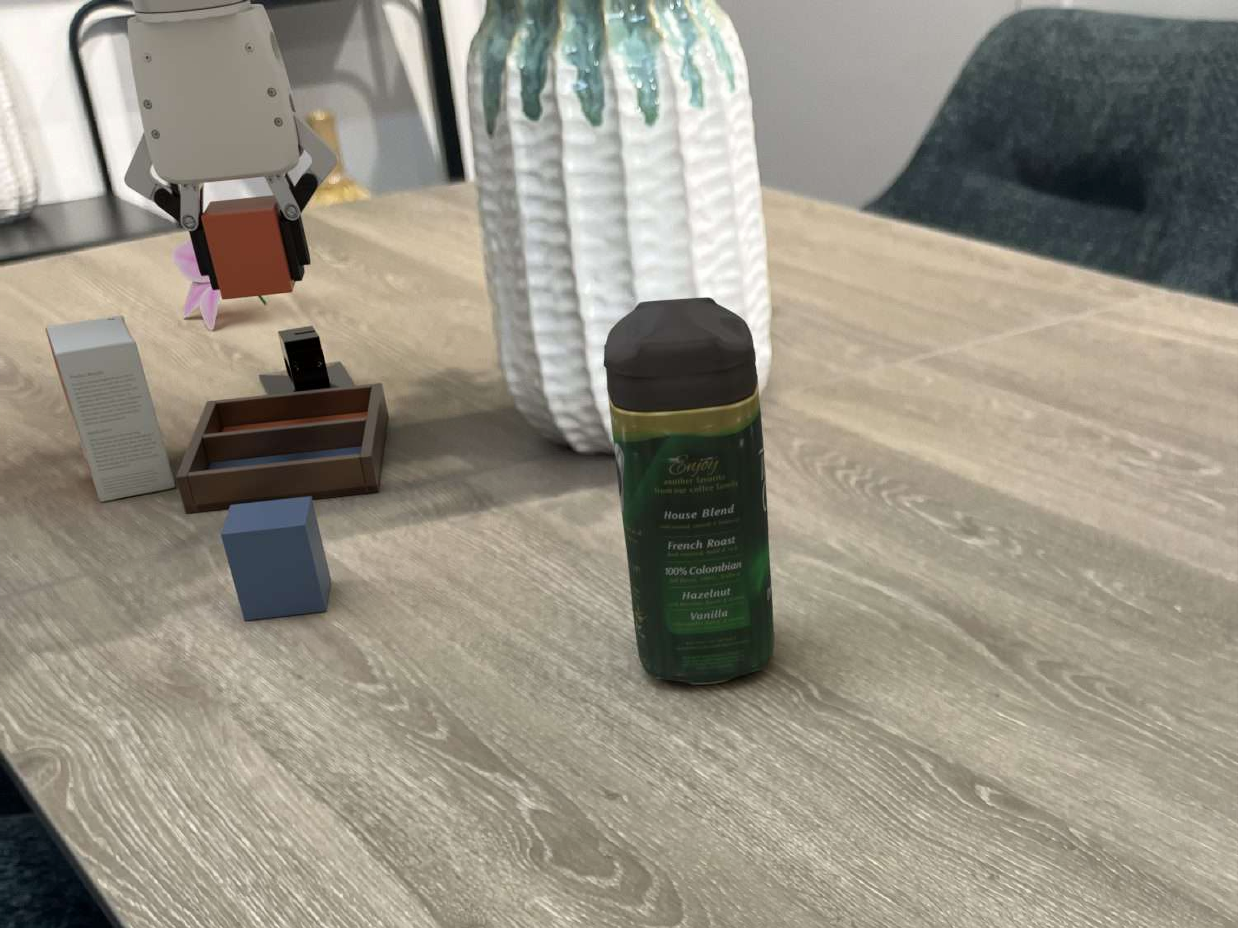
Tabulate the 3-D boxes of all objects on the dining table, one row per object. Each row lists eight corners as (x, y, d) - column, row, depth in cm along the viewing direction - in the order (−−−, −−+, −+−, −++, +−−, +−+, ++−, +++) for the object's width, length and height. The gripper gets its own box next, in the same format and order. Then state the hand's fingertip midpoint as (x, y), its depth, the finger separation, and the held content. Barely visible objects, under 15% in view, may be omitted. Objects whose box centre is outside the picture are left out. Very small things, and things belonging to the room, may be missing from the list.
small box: (88, 471, 130) (43, 325, 123) (163, 457, 131) (122, 312, 125) (99, 503, 124) (51, 352, 118) (177, 488, 126) (135, 338, 119)
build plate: (366, 405, 139) (354, 345, 136) (276, 420, 137) (261, 361, 134) (340, 364, 148) (328, 308, 145) (256, 378, 147) (241, 322, 144)
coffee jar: (783, 683, 94) (759, 329, 83) (640, 696, 94) (595, 343, 82) (771, 612, 102) (747, 278, 90) (638, 624, 101) (597, 291, 90)
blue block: (244, 621, 105) (220, 534, 102) (252, 589, 109) (230, 504, 106) (326, 611, 106) (305, 524, 102) (331, 580, 110) (311, 495, 106)
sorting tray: (185, 513, 121) (175, 477, 120) (215, 434, 135) (206, 400, 134) (378, 492, 122) (371, 455, 121) (388, 416, 136) (382, 382, 135)
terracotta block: (222, 299, 123) (200, 216, 119) (230, 282, 127) (209, 201, 123) (292, 292, 123) (273, 208, 120) (298, 275, 127) (279, 194, 124)
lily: (192, 311, 170) (128, 232, 162) (291, 248, 169) (233, 164, 161) (216, 379, 164) (151, 300, 156) (320, 314, 163) (260, 231, 154)
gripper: (322, -30, 117) (379, 256, 128) (68, -6, 116) (148, 281, 127) (313, -18, 111) (374, 281, 122) (46, 8, 110) (132, 307, 121)
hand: (258, 278), depth 124 cm, fingers closed on terracotta block, 5 cm apart
